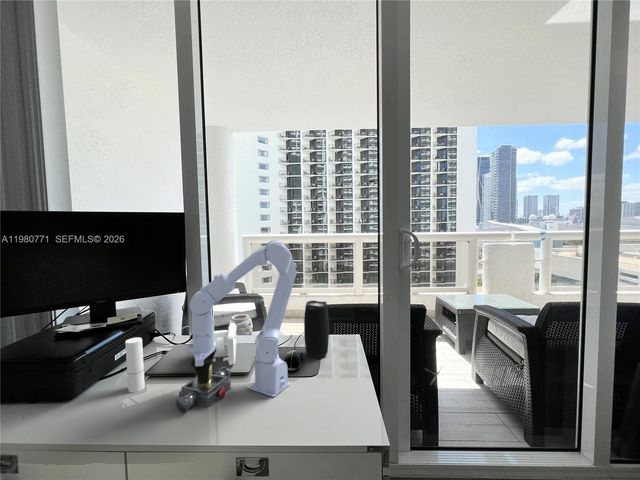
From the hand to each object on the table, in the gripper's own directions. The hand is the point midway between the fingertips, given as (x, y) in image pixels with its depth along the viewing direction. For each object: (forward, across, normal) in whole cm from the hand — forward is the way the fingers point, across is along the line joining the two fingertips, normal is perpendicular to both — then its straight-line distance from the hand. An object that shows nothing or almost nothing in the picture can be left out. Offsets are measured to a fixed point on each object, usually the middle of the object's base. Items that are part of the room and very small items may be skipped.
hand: (205, 379), depth 92 cm
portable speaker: (+5, -20, +36) cm, 41 cm away
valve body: (+5, 0, 0) cm, 5 cm away
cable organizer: (+5, -22, +2) cm, 23 cm away
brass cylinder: (+2, 0, 0) cm, 2 cm away
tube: (+5, -7, -21) cm, 23 cm away
